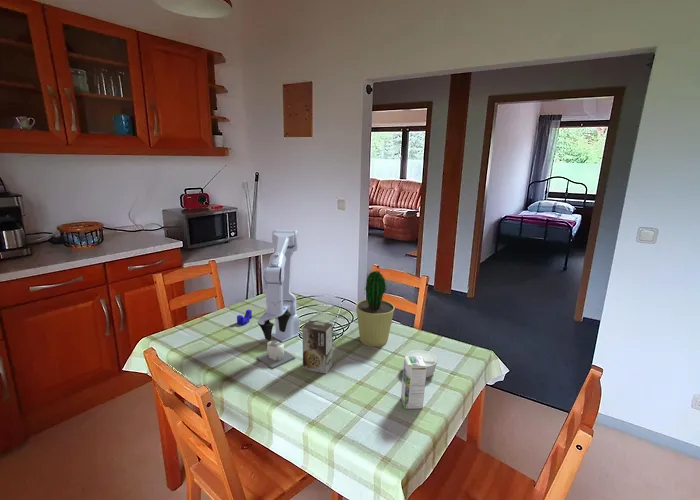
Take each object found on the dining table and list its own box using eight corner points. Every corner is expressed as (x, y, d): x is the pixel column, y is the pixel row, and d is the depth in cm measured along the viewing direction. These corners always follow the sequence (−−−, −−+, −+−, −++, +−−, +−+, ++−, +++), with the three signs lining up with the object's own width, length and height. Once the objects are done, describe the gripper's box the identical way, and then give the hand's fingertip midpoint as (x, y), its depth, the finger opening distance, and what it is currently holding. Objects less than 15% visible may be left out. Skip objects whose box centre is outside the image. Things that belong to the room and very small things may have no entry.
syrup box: (400, 397, 117) (403, 355, 113) (418, 396, 117) (422, 355, 114) (404, 409, 111) (407, 366, 108) (423, 408, 112) (427, 365, 108)
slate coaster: (278, 348, 144) (278, 347, 144) (295, 358, 137) (295, 357, 137) (256, 358, 137) (256, 356, 137) (272, 369, 130) (272, 367, 130)
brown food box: (333, 365, 134) (333, 323, 130) (326, 374, 128) (326, 331, 124) (309, 360, 137) (309, 319, 133) (302, 369, 131) (301, 326, 127)
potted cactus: (387, 352, 143) (392, 278, 136) (350, 345, 148) (352, 272, 141) (396, 334, 158) (400, 266, 150) (361, 328, 162) (363, 262, 155)
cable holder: (243, 326, 163) (243, 317, 162) (237, 324, 164) (236, 316, 163) (254, 318, 170) (254, 310, 169) (248, 317, 171) (247, 309, 170)
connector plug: (272, 352, 140) (271, 337, 139) (286, 357, 137) (285, 342, 135) (265, 356, 137) (264, 341, 136) (279, 361, 134) (279, 346, 132)
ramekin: (416, 383, 124) (418, 369, 123) (397, 366, 134) (398, 353, 132) (442, 375, 129) (444, 361, 128) (422, 359, 139) (423, 347, 138)
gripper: (279, 291, 139) (280, 325, 143) (251, 304, 127) (252, 340, 131) (294, 295, 136) (294, 329, 139) (266, 308, 124) (267, 346, 127)
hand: (275, 335), depth 135 cm, fingers open, 7 cm apart
